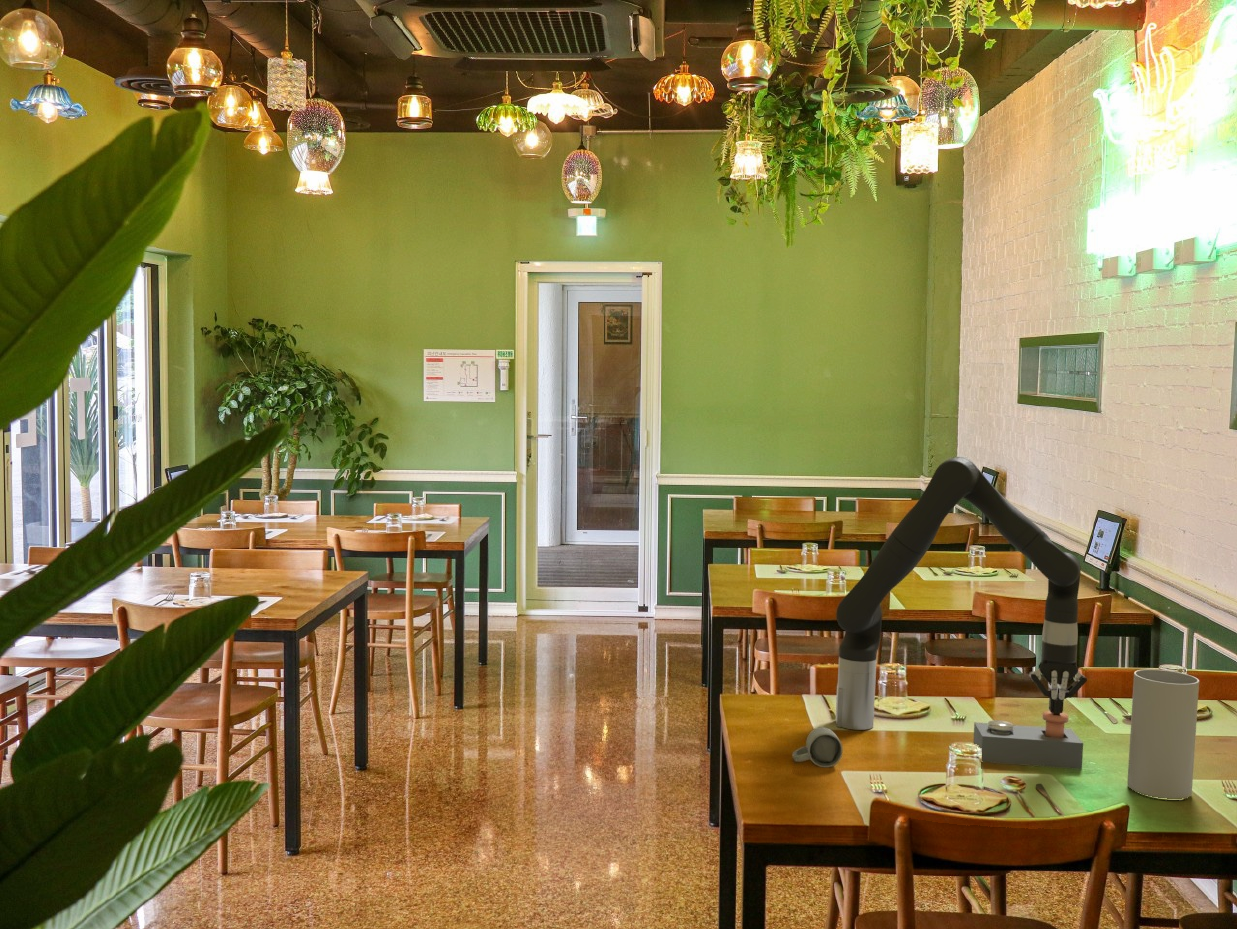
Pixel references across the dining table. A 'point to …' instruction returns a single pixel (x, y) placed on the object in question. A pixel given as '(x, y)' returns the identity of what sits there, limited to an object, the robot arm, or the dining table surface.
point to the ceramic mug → (820, 748)
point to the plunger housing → (1029, 747)
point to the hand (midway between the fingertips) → (1055, 714)
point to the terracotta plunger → (1054, 724)
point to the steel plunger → (1000, 727)
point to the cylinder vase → (1163, 733)
